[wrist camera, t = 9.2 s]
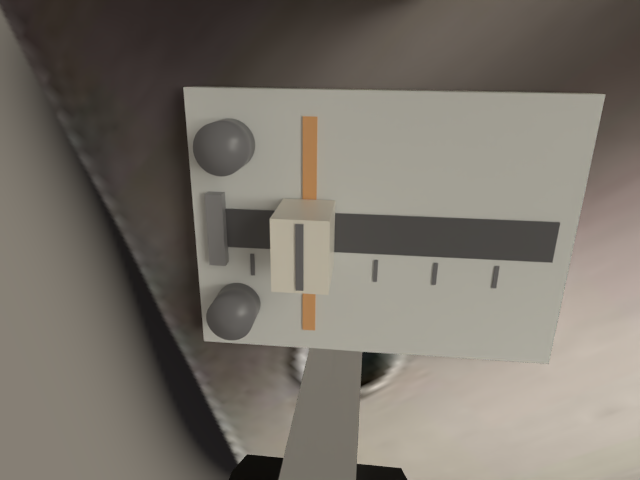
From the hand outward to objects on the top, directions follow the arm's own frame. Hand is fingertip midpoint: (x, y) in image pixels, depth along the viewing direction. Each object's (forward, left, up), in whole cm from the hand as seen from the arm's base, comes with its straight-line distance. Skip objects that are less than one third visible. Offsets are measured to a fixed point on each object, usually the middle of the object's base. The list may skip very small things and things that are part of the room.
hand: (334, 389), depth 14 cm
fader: (0, -2, -14) cm, 15 cm away
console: (0, +2, -17) cm, 17 cm away
